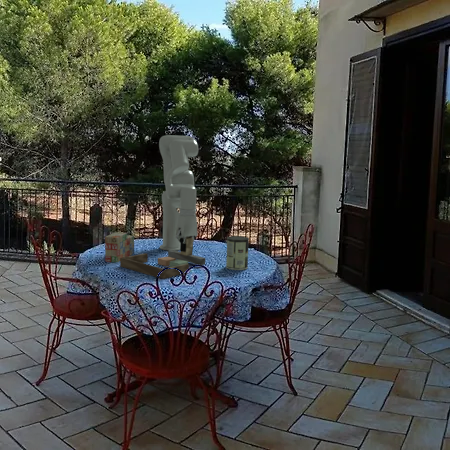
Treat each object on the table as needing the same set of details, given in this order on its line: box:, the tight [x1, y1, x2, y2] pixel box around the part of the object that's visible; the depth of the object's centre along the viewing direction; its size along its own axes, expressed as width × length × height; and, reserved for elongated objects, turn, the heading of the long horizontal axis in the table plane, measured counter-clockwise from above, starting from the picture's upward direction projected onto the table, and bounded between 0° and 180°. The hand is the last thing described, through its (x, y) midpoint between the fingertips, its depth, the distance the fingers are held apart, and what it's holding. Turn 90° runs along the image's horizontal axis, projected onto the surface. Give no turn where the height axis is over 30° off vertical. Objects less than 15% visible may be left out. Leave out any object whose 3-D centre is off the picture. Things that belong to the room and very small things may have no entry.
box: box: [119, 252, 190, 280], centre depth 223 cm, size 15×28×4 cm, turn 50°
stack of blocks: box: [104, 231, 135, 263], centre depth 244 cm, size 21×6×12 cm, turn 169°
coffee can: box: [225, 235, 250, 271], centre depth 232 cm, size 10×10×14 cm
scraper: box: [167, 237, 206, 266], centre depth 238 cm, size 4×22×11 cm, turn 50°
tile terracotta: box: [157, 256, 177, 267], centre depth 235 cm, size 6×6×3 cm
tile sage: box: [169, 259, 189, 267], centre depth 230 cm, size 6×6×3 cm
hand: (186, 250), depth 238 cm, fingers closed on scraper, 4 cm apart
